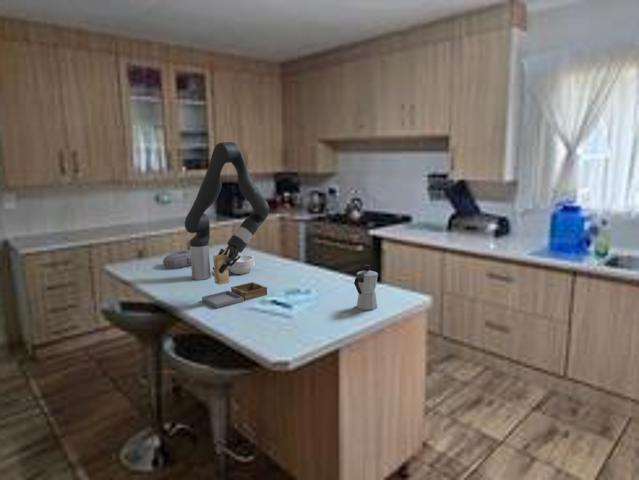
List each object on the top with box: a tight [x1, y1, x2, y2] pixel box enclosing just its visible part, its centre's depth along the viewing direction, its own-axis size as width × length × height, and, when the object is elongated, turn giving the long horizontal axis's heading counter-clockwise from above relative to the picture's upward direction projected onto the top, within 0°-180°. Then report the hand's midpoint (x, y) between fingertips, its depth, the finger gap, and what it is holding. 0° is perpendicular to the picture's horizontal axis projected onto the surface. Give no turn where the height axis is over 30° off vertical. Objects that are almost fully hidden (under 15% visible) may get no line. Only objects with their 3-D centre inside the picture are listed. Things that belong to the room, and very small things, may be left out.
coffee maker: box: [353, 264, 379, 311], centre depth 185 cm, size 15×9×18 cm, turn 141°
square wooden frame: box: [230, 281, 268, 302], centre depth 205 cm, size 12×12×4 cm
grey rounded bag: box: [162, 249, 191, 270], centre depth 257 cm, size 15×8×20 cm
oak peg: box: [212, 254, 230, 286], centre depth 193 cm, size 4×4×12 cm
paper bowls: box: [228, 254, 256, 275], centre depth 243 cm, size 15×15×8 cm
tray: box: [201, 290, 245, 310], centre depth 196 cm, size 13×13×2 cm
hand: (217, 271), depth 192 cm, fingers closed on oak peg, 4 cm apart
